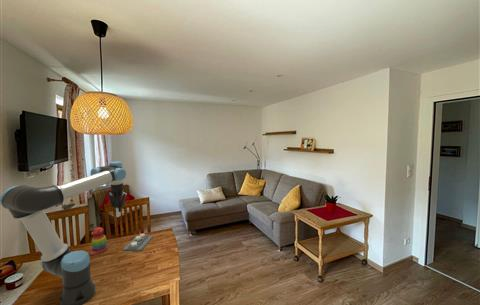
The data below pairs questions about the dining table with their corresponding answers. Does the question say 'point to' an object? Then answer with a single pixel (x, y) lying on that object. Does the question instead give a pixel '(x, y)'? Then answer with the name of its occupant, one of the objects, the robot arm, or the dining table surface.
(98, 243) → the stacking bear
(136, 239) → the button two
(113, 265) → the dining table surface
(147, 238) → the board
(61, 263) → the robot arm
